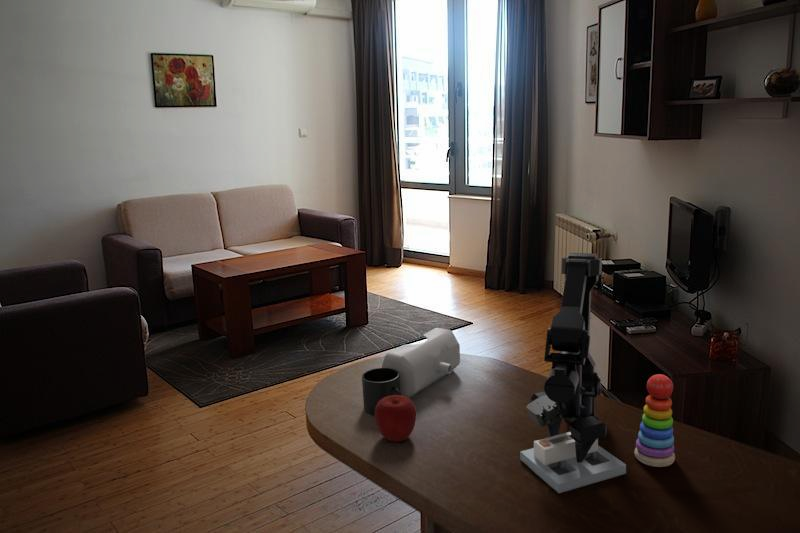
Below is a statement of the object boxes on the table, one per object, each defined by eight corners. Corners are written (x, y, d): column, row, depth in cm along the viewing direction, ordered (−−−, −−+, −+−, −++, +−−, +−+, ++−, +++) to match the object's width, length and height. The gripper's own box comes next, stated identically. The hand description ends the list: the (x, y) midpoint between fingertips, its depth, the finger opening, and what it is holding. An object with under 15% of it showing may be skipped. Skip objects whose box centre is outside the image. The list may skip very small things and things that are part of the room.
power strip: (585, 449, 146) (586, 426, 145) (597, 457, 142) (598, 434, 141) (533, 463, 141) (533, 439, 140) (544, 472, 138) (544, 448, 136)
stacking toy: (655, 472, 136) (659, 386, 132) (626, 455, 143) (628, 373, 139) (683, 461, 140) (688, 377, 135) (652, 445, 147) (656, 364, 142)
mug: (388, 423, 163) (386, 388, 161) (356, 409, 172) (354, 375, 169) (416, 410, 169) (414, 376, 167) (383, 396, 178) (381, 364, 176)
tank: (423, 409, 170) (421, 362, 167) (374, 395, 179) (371, 351, 176) (474, 374, 189) (473, 332, 186) (427, 364, 199) (425, 323, 196)
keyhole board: (583, 443, 149) (583, 434, 149) (625, 473, 137) (626, 464, 136) (520, 460, 144) (520, 451, 143) (558, 493, 131) (558, 484, 130)
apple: (425, 440, 154) (423, 399, 152) (389, 452, 149) (386, 411, 147) (403, 424, 162) (401, 385, 160) (368, 436, 157) (366, 396, 155)
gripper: (508, 373, 143) (509, 440, 147) (560, 408, 126) (559, 483, 130) (553, 364, 147) (553, 429, 151) (609, 396, 130) (607, 469, 134)
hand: (566, 451), depth 141 cm, fingers open, 9 cm apart
